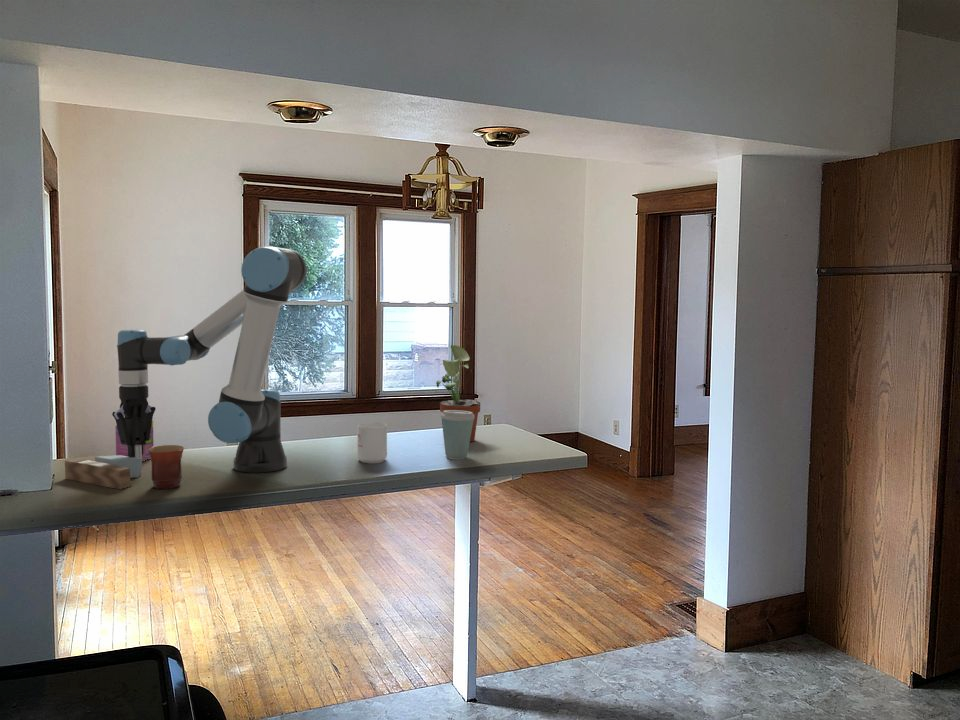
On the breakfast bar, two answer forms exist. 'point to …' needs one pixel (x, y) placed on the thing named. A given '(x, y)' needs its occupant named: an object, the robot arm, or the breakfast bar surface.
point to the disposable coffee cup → (457, 432)
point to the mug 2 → (372, 442)
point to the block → (123, 463)
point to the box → (123, 449)
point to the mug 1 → (166, 466)
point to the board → (97, 473)
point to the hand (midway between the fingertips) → (136, 467)
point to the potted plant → (457, 404)
